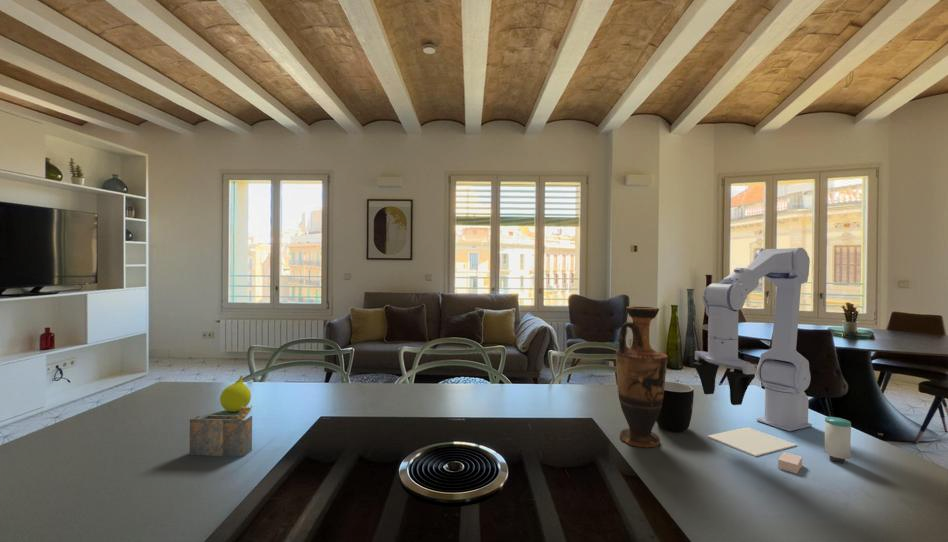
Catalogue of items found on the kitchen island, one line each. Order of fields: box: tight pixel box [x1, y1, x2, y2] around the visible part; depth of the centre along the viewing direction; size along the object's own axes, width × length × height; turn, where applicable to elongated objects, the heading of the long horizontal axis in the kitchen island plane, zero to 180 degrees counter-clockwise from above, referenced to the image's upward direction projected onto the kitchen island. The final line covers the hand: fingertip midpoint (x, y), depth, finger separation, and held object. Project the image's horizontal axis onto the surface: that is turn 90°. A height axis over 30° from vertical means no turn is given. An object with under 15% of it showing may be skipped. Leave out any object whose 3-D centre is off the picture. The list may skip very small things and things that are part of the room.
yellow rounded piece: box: [219, 375, 252, 413], centre depth 112 cm, size 7×7×10 cm
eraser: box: [777, 451, 803, 474], centre depth 84 cm, size 5×3×2 cm, turn 134°
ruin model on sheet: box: [189, 405, 253, 457], centre depth 87 cm, size 11×3×10 cm, turn 88°
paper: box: [706, 426, 798, 457], centre depth 96 cm, size 14×11×1 cm
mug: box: [655, 381, 695, 434], centre depth 105 cm, size 12×9×10 cm
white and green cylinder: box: [824, 416, 852, 464], centre depth 87 cm, size 4×4×8 cm
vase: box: [615, 305, 669, 448], centre depth 96 cm, size 11×11×30 cm
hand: (722, 398), depth 94 cm, fingers open, 7 cm apart
